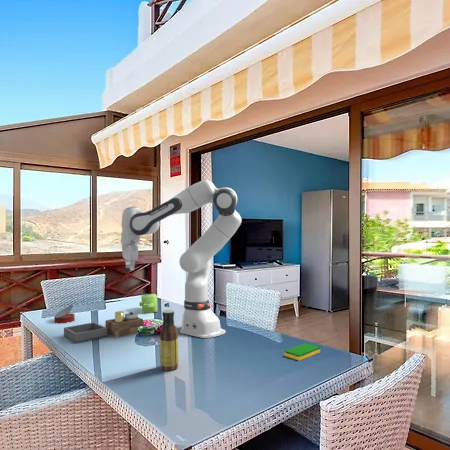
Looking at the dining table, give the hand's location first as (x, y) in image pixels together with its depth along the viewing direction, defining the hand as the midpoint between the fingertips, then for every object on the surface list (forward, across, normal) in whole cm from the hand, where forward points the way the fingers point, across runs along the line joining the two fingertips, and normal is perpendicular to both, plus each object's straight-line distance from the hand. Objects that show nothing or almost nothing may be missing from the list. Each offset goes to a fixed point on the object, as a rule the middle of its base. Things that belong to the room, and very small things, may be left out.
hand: (129, 269), depth 175 cm
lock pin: (+29, -6, +5) cm, 30 cm away
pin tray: (+30, -4, +20) cm, 36 cm away
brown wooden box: (+29, -5, +3) cm, 30 cm away
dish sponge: (+28, -65, -54) cm, 89 cm away
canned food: (+31, +32, +27) cm, 52 cm away
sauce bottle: (+28, -56, -3) cm, 63 cm away
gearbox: (+30, +36, -19) cm, 50 cm away
